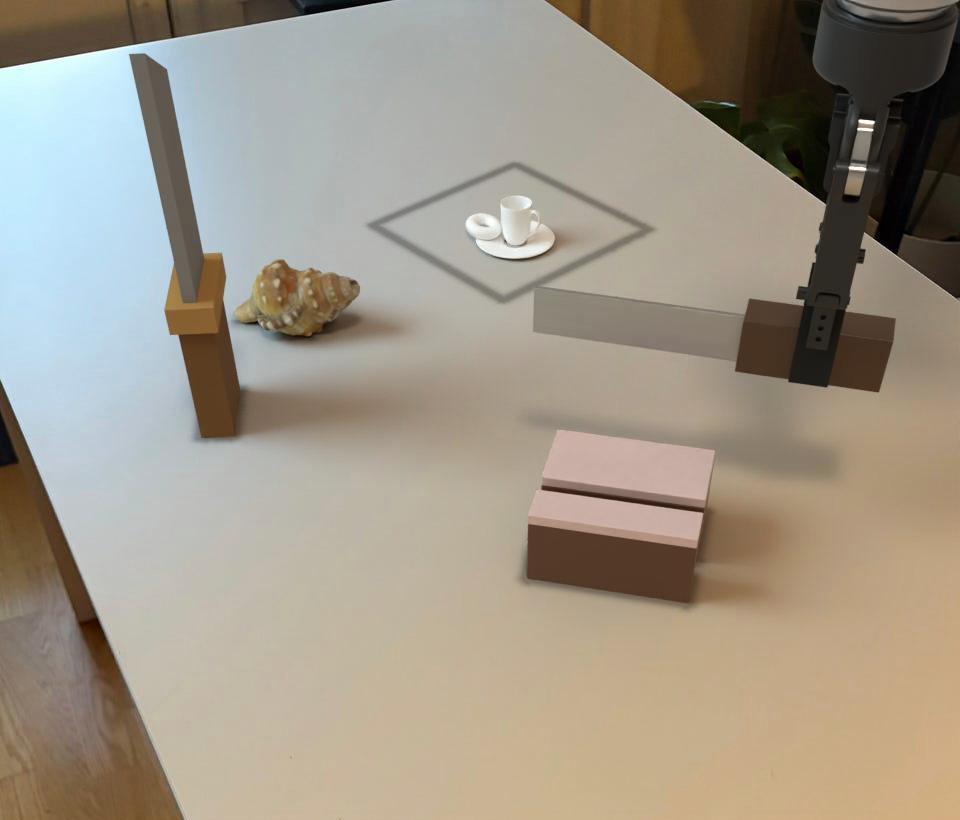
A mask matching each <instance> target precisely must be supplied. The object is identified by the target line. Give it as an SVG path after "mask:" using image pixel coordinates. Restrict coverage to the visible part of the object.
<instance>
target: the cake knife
mask: <svg viewBox="0 0 960 820" xmlns="http://www.w3.org/2000/svg"><path fill="white" fill-rule="evenodd" d="M803 307H804V305H802V304H794V303H786V302H779V301H771V300H765V299H757V298H748V301H747V304H746V309H745V313H737V312H729V311H721V310H714V309H709V308H708V309H707V308H701V307H699V308H698V307H695V306H694V307H693V306H687V305H679V304H672V303H665V302H658V301H657V302H656V301H650V300H642V299H636V298H627V297H620V296H614V295H606V294H600V293H599V294H597V293H594V292H593V293H591V292H586V291H585V292H584V291H579V290H578V291H577V290H571V289H570V290H569V289H563V288H555V287H548V286H542V285H541V286H540V285H535V286H534V288H533V317H532V318H533V319H532V332H533V333H535V334H536V333H537V334H544V335H552V336H558V337H565V338H572V339H578V340H585V341H592V342H600V343H607V344H614V345H620V346H627V347H632V348H633V347H634V348H642V349H646V350H647V349H648V350H654V351H662V352H668V353H674V354H675V353H676V354H682V355H690V356H696V357H702V358H709V359H710V358H711V359H716V360H723V361H730V362H735V366H734V372H735V373H742V374H749V375H756V376H761V377H762V376H763V377H768V378H776V379H781V380H789V375H790V370H791V365H792V360H793V355H794V350H795V346H796V341H797V336H798V331H799V326H800V321H801V317H802V312H803ZM896 319H897V318H896V317H890V316H883V315H875V314H869V313H868V314H867V313H859V312H853V311H845V315H844V320H843V324H842V328H841V332H840V337H839V341H838V345H837V349H836V354H835V358H834V362H833V366H832V370H831V375H830V379H829V383H828V387H829V386H830V387H837V388H844V389H850V390H851V389H852V390H857V391H865V392H871V393H880V391H881V388H882V383H883V380H884V377H885V373H886V370H887V365H888V362H889V359H890V355H891V352H892V349H893V346H894V345H893V344H894V340H895V331H896V323H897V322H896V321H897V320H896Z"/></svg>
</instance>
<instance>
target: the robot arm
mask: <svg viewBox="0 0 960 820" xmlns="http://www.w3.org/2000/svg"><path fill="white" fill-rule="evenodd" d="M959 1H960V0H822V3H821V8H820V14H819V20H818V23H817V30H816V35H815V41H814V46H813V52H812V65H813V67H814V69H815V71H816V73H817V74H818V75H819V76H820V77H821V78H823V80H825V81H827V82H829V84H831V85H834V86H840V87H842V88H844V89H846V91H847V92H848V93H836V96H835V102H834V107H833V112H832V116H831V122H830V127H829V130H828V131H829V132H828V137H827V142H828V144H829V147H830V148H829V153H828V157H827V163H826V168H825V172H824V178H823V183H822V187H823V190H824V191H825V192H826V193H827V198H826V203H825V207H824V208H825V209H824V213H823V218H822V221H821V222H820V223H819V226H818V231H819V238H818V239H819V240H818V242H817V244H815V247H814V254H815V262H811V266H810V272H809V277H808V280H807V281H808V282H807V286H802V285H798V286H797V291H796V295H795V299H796V300H800V301H803V302H804V303H803V306H804V307H803V312H802V317H801V321H800V326H799V331H798V336H797V341H796V346H795V350H794V355H793V360H792V365H791V370H790V375H789V379H787V383H791V384H799V385H805V386H812V387H818V388H819V387H821V388H828V387H829V385H828V383H829V379H830V375H831V370H832V366H833V362H834V358H835V354H836V349H837V345H838V341H839V337H840V332H841V328H842V324H843V320H844V315H845V311H846V310H848V306H849V305H850V302H851V300H852V299H851V298H852V297H851V289H852V285H853V281H854V276H855V272H856V269H857V265H858V264H859V265H864V262H865V257H866V252H867V251H866V250H867V249H866V248H862V243H863V239H864V235H865V231H866V227H867V223H868V219H869V214H870V210H871V206H872V202H873V200H874V199H873V198H874V197H877V196H878V195H879V194H880V192H881V189H882V185H883V181H884V176H885V171H886V168H887V163H888V159H889V155H890V153H891V152H892V151H893V150H894V149H895V147H896V145H897V140H898V135H899V132H900V127H901V122H902V117H901V114H902V110H903V104H904V99H901V98H895V97H897V96H899V95H901V94H904V93H911V94H912V93H916V92H919V91H922V90H925V89H927V88H929V87H931V86H933V85H934V84H935V83H937V82H938V81H939V80H940V79H941V77H942V76H943V75H944V73H945V71H946V67H947V64H948V60H949V55H950V53H951V48H952V45H953V41H954V37H955V34H956V29H957V25H958V21H959V18H960V11H959V8H958V7H957V4H956V3H958V2H959ZM846 312H847V311H846Z"/></svg>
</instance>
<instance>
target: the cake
mask: <svg viewBox="0 0 960 820" xmlns="http://www.w3.org/2000/svg"><path fill="white" fill-rule="evenodd" d="M716 451H717V450H715V449H709V448H703V447H702V448H701V447H692V446H685V445H677V444H670V443H664V442H663V443H662V442H656V441H648V440H642V439H641V440H640V439H634V438H625V437H619V436H610V435H603V434H597V433H588V432H581V431H575V430H568V429H557V430H556V434H555V436H554V439H553V443H552V445H551V448H550V450H549V454H548V456H547V460H546V463H545V465H544V469H543V471H542V475H541V482H540V483H541V485H540V486H541V487H540V490H544V491H551V492H558V493H565V494H572V495H579V496H586V497H594V498H601V499H608V500H615V501H622V502H629V503H636V504H643V505H650V506H657V507H664V508H671V509H678V510H685V511H692V512H699V513H703V520H702V526H701V533H700V539H699V545H698V551H697V558H696V562H697V560H698V556H699V550H700V544H701V541H702V536H703V531H704V525H705V520H706V514H707V509H708V502H709V498H710V497H709V496H710V490H711V485H712V477H713V471H714V466H715V465H714V464H715V460H716V459H715V458H716Z"/></svg>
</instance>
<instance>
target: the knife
mask: <svg viewBox="0 0 960 820" xmlns="http://www.w3.org/2000/svg"><path fill="white" fill-rule="evenodd" d="M128 57H129V61H130V66H131V71H132V75H133V80H134V84H135V89H136V93H137V94H136V95H137V99H138V103H139V108H140V112H141V116H142V120H143V125H144V126H143V127H144V130H145V134H146V135H145V136H146V139H147V145H148V148H149V153H150V154H149V155H150V158H151V162H152V167H153V171H154V176H155V181H156V185H157V190H158V195H159V199H160V203H161V209H162V212H163V217H164V222H165V226H166V232H167V237H168V240H169V245H170V250H171V255H172V259H173V266H172V270H171V276H170V281H169V285H168V289H167V295H166V300H165V305H164V308H163V311H164V315H165V320H166V324H167V329H168V333H169V336H178V340H179V345H180V348H181V353H182V354H181V355H182V358H183V362H184V366H185V371H186V376H187V380H188V384H189V388H190V389H189V390H190V393H191V398H192V402H193V407H194V411H195V415H196V420H197V424H198V429H199V433H200V438H201V439H210V438H212V439H213V438H232V437H234V438H235V437H236V431H237V422H238V413H239V405H240V397H241V385H240V381H239V374H238V370H237V365H236V359H235V354H234V350H233V349H234V348H233V344H232V339H231V333H230V328H229V322H228V318H227V313H226V307H225V302H224V296H225V290H226V283H227V271H226V268H225V262H224V255H223V252H207V253H205V252H204V250H203V246H202V240H201V235H200V230H199V225H198V224H199V223H198V220H197V214H196V210H195V204H194V200H193V194H192V190H191V184H190V180H189V174H188V169H187V164H186V159H185V158H186V157H185V153H184V149H183V144H182V138H181V134H180V133H181V132H180V128H179V123H178V117H177V113H176V108H175V103H174V98H173V93H172V89H171V83H170V78H169V72H168V69H167V68H166V67H165V66H163V64H160V63H159V62H158V61H156V60H155V59H153V58H152V57H151V56H149V55H148V54H146V53H145V52H141V53H139V52H138V53H128Z"/></svg>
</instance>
